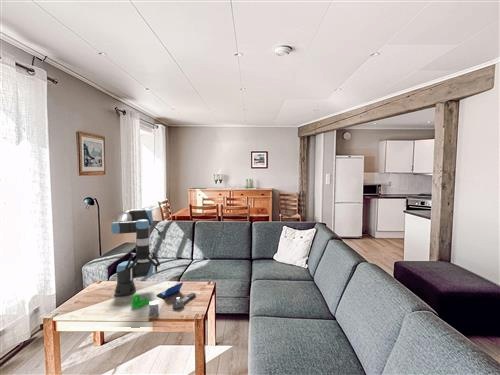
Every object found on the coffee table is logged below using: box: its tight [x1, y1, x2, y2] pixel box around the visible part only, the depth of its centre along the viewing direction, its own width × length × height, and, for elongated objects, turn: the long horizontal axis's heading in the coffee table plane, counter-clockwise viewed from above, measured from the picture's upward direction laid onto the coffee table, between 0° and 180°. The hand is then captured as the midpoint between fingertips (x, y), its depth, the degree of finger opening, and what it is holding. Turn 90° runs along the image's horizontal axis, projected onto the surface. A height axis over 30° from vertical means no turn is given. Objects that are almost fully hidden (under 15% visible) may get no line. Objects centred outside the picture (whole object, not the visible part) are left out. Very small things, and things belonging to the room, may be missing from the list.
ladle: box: [171, 292, 197, 311], centre depth 197 cm, size 8×22×6 cm, turn 156°
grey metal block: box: [148, 299, 160, 317], centre depth 182 cm, size 6×6×7 cm
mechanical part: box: [131, 293, 151, 310], centre depth 194 cm, size 12×6×8 cm, turn 149°
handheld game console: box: [156, 282, 184, 300], centre depth 210 cm, size 16×13×9 cm
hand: (143, 278), depth 171 cm, fingers open, 13 cm apart
